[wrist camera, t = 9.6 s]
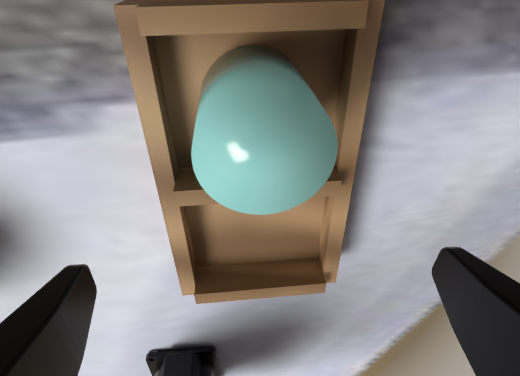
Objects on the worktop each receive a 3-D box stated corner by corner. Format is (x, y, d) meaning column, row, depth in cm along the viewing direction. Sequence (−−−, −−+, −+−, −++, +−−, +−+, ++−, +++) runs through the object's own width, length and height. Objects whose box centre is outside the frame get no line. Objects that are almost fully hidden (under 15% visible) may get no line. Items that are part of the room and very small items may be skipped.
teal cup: (308, 43, 16) (347, 82, 11) (301, 144, 19) (329, 210, 14) (193, 46, 16) (180, 89, 11) (206, 150, 19) (200, 219, 14)
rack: (327, 257, 26) (338, 291, 23) (185, 269, 25) (181, 305, 23) (365, -8, 16) (393, -1, 13) (127, -1, 15) (107, 8, 12)
